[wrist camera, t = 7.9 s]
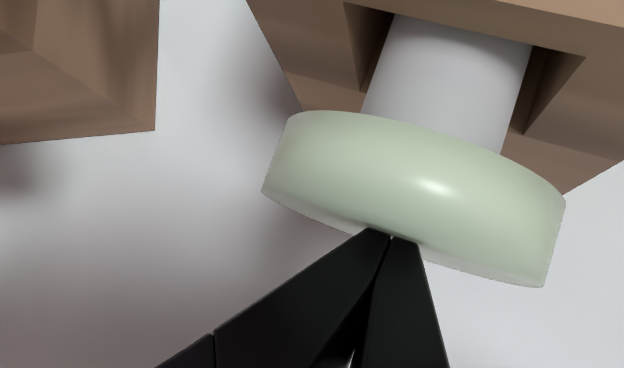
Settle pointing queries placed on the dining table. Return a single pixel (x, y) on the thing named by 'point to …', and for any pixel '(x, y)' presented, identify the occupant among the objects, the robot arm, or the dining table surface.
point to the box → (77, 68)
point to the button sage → (428, 157)
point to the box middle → (488, 20)
